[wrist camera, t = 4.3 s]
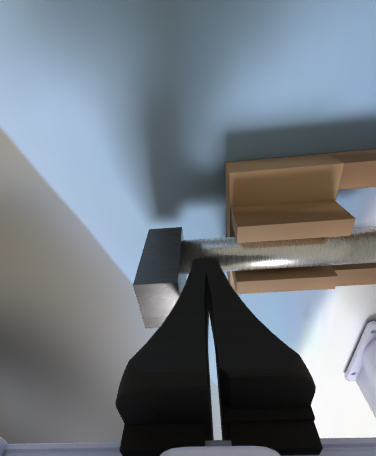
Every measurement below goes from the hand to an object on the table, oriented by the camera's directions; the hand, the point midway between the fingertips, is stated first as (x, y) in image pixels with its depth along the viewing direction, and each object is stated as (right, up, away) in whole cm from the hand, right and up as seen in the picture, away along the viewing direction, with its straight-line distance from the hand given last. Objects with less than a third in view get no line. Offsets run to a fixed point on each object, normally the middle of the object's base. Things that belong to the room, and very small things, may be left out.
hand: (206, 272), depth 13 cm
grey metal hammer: (+3, +2, +2) cm, 4 cm away
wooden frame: (+8, +3, +4) cm, 10 cm away
